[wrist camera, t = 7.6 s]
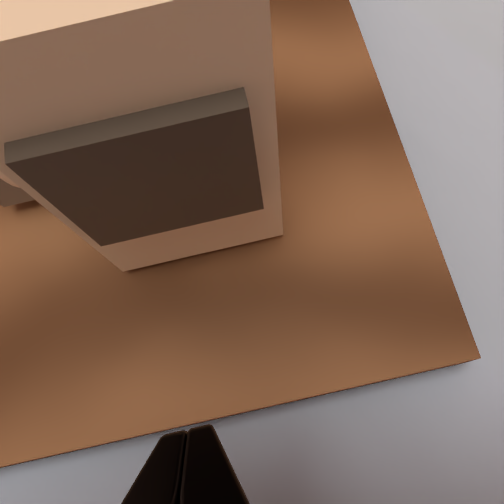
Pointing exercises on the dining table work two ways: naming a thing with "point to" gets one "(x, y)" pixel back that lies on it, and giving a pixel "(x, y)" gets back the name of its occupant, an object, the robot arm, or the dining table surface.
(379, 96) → the gauge base
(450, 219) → the dining table surface
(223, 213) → the block
